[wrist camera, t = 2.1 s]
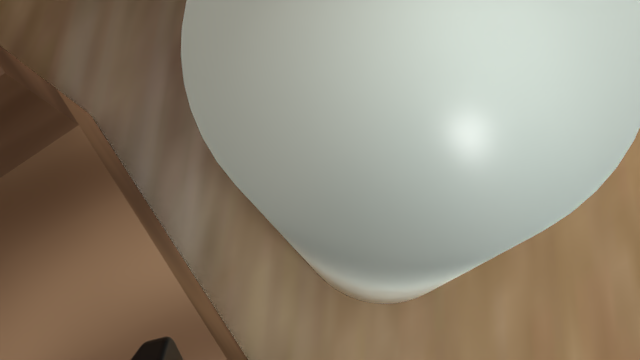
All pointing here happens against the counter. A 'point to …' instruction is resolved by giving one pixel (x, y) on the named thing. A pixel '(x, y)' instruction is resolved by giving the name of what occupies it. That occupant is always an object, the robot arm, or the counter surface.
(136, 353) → the robot arm
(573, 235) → the counter surface
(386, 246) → the pale upright pillar block
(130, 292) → the walnut shelf board
